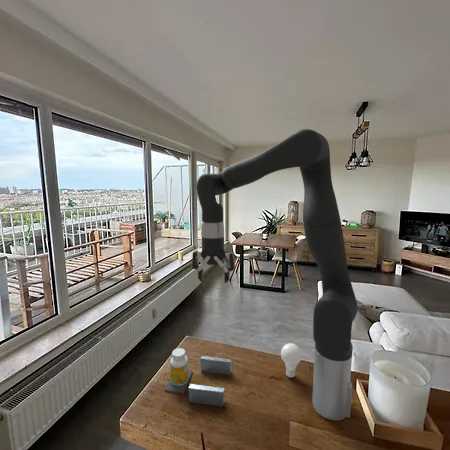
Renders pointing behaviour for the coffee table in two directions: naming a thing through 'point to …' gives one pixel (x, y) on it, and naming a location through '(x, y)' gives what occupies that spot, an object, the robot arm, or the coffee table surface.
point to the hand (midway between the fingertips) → (213, 281)
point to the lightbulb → (291, 358)
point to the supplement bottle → (179, 367)
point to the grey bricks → (206, 392)
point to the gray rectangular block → (178, 389)
